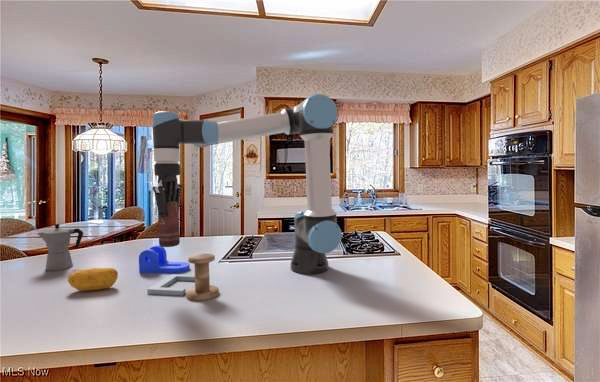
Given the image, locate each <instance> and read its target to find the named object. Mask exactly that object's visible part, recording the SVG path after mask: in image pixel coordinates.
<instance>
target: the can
mask: <svg viewBox="0 0 600 382" xmlns="http://www.w3.org/2000/svg"><path fill="white" fill-rule="evenodd" d="M166 204H167V210H168V216H167V217H159V214H158V213H157V220H158V223H157V224H158V245H160V246H161V247H164V248H170V247H171V248H172V247H177V246H179V245H180V243H181V237H180V236H181V235H180V233H181V232H180V205H179V204H178V202H177V201H176V202H175V201H172V202H166Z"/></svg>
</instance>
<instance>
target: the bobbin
mask: <svg viewBox="0 0 600 382" xmlns="http://www.w3.org/2000/svg"><path fill="white" fill-rule="evenodd" d="M187 258H188V262H187V263H189V264H194V275H195V281H194V287H191V288H188V289H186V293H185V298H186V299H187V300H189V301H192V300H194V301H195V302H201V301H200V300H203V301H208V299H209V300H212V299H214V298H216V297H218V296H219V294H220V292H219V291H220V290H219V287H217V286H215V285H212V284H211V285H210V283H211V281H210V263H212V262H213V261H215V258H216V257H215V255H214V254H212V253H197V254H196V253H195V254H192V255H190V256H189V257H187ZM194 301H193V302H194Z"/></svg>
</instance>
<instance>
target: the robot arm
mask: <svg viewBox="0 0 600 382" xmlns="http://www.w3.org/2000/svg"><path fill="white" fill-rule="evenodd" d="M337 117H338V108H337V105H336V103H335V102H334V100H333V99H332V98H331V97H329V96H328V95H326V94H321V93H316V94H313V95H310V96H308V97H306V98H305V99H304V100H303V101H302V102H301V103H299V104H296V105H295V106H292V107H289V108H284V109H282V110H281V111H280V112H274V113H269V114H262V115H257V116H251V117H245V118H243V117H242V118H237V119H236V118H235V119H231V120H223V121H218V122H217V120H208V119H200V120H199V119H181V118H180V116H179V114H178V113H177V112H174V111H165V110H164V111H156V112H154V113H153V114H152V126H151V128H152V139H153V141H152V143H153V161H154V162H155V163H154V166H153V167H154V169H153V170H154V176H158V179H157V185H153V186H152V190H153V193H154V196H155V202H156V208H157V215H158V214H159V217H167V216H168V210H167V204H166V202H172V201H175V202H176V201H177V202H178V204H179V206H180V204H181V203H180V202H181V192H182V187H183V185H182V183H179V182H178V176H180V175H181V164H180V162H181V153H180V151H181V150H180V144H181V145H182V144H183V145H186V144H187V145H194V146H195V147H197V148H206V147H209V146H213V145H219V144H224V143H232V142H235V141H236V142H237V141H241V140H247V139H248V140H249V139H253V138H260V137H266V136H272V135H278V134H283V133H284V134H285V135H287V136H289V135H295V134H299V137H300V138H301V140H303V141H304V153H305V154H304V156H305V159H304V160H305V177H306V178H305V180H306V181H305V182H306V200H307V201H306V203H307V209H306V210H305V211H296V212H295V213H294V219H293V221H294V251H293V254H292V257H291V261H290V270H291V271H292V272H295V273H298V274H304V275H315V274H316V275H317V274H321V273H324V272H325V273H326V272H327V271H328V270H329V261H328V258H327V255H326V254H328V253H331V252H332V251H335V250H336V249H337V248H338V247H339V245H340V244H341V241H342V236H343V235H342V229H341V228H340V225H339V224H338V223H337V212H336V211H335V210H334V209H333V207H332V183H331V182H332V180H331V179H332V177H331V175H332V174H331V155H330V154H331V153H330V149H331V148H330V140H331V139H332V137H333V136H334V124H335V122H336V120H337Z"/></svg>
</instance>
